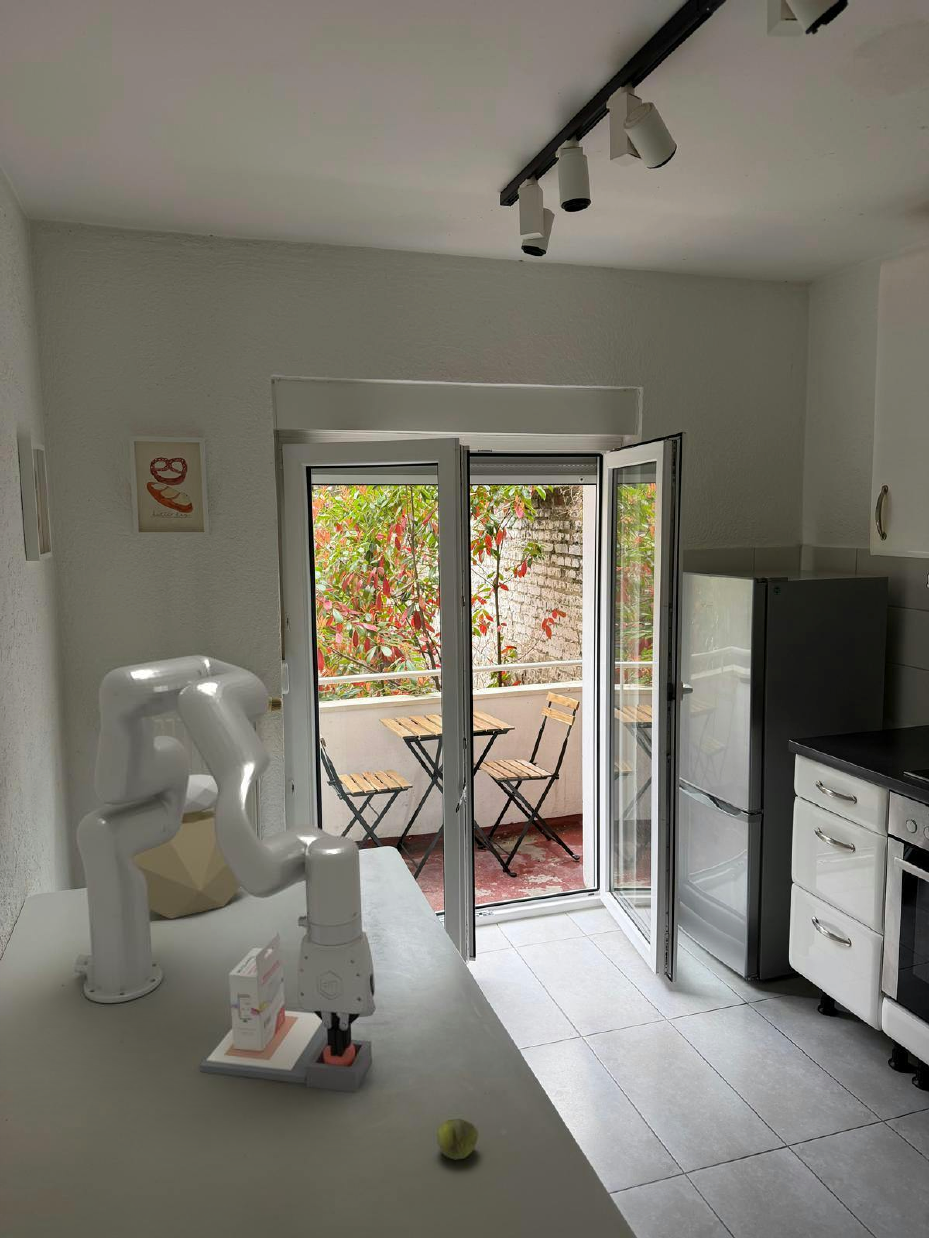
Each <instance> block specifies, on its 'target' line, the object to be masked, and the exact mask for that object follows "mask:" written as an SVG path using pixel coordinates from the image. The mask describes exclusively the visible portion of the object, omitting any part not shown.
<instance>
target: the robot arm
mask: <svg viewBox="0 0 929 1238" xmlns="http://www.w3.org/2000/svg"><path fill="white" fill-rule="evenodd" d="M98 705H99V712H100V730H99V737H98V743H97V744H98V745H97V751H96V753H97V754H96V758H95V768H94V776H93V779H94V780H93V785H94V791H95V794H96V796H97V798H98V799H99V800H100V801H101V802H103V803H104V804H107V805H103V806H102V807H98V808H96V809H95V810H93V811H90V812H89V813H87V814H86V815H85V816H84V817H83V818H82V819H81V820H80V822H79V823H78V826H77V829H76V836H75V837H76V842H77V846H78V850H79V854H80V857H81V860H82V865H83V869H84V875H85V876H84V877H85V884H86V894H87V906H88V908H87V909H88V920H89V935H90V950H91V955H89V954H88V955H87V954H79V955H78V956H77V958H76V961H75V963H76V964H75V965H74V968H73V971H74V973H76V974H85V975H86V976H87V979H86V980H85V982H84V984H83V993H84V995H85V997H86V998H87V999H89V1000H91V1001H93V1002H97V1003H100V1004H117V1003H122V1002H127V1001H131V1000H134V999H137V998H140V997H143V996H145V995H147V994H148V993H150V992H152V991H153V990H154V989H156V988H157V987H158V986H159V985H160V983H161V982H162V980H163V978H164V977H163V975H164V973H163V968H162V967H161V965H160V964H158V963H156V962H154V961H153V951H152V935H151V920H150V919H151V918H150V909H149V900H148V885H147V880H146V877H145V875H144V873H143V872H142V870H141V869H140V868H139V867H138V866H137V865H136V864H135V863H134V860H133V858H134V857H135V856H136V855H138V854H141V853H142V852H145V851H147V850H150V849H152V848H155V847H158V846H160V845H163V844H165V843H167V842H169V841H171V840H172V839H173V838H174V837H175V836H176V835H177V833H178V832H179V830H180V827H181V824H182V819H183V813H184V807H185V801H186V795H187V789H188V783H189V775H191V774H190V773H191V765H190V759H189V756H188V751H187V750H186V748H185V746H184V745H183V743H181V741H180V740H178V739H177V738H175V737H172V736H170V735H157V736H156V734H157V724H156V721H155V717H158V716H163V715H166V714H167V715H168V714H170V713H171V714H172V713H175V712H176V713H177V714H178V718H179V719H180V720H181V723H182V724H183V726H184V729H185V730H186V732H187V734H188V735H189V737H190V739H191V741H192V743H193V744H194V747H195V748H196V750H197V752H198V753H199V755H200V757H201V758H202V760H203V763H204V764H205V766H206V767H207V769H208V771H209V773H210V776H212V777H213V778H214V780H215V782H216V784H217V788H218V793H217V798H216V802H215V807H214V809H213V810H214V825H215V835H216V841H217V844H218V847H219V850H220V852H221V854H222V856H223V858H224V860H225V861H226V863H227V865H228V867H229V869H230V870H231V872H232V874H233V876H234V877H235V879H236V880H237V882H238V883H239V885H240V886H241V887H240V888H242V890H243V891H244V892H246V893H247V894H248V895H250V896H252V897H255V898H259V899H265V898H269V897H273V896H274V895H276V894H278V893H281V892H283V891H284V890H287V889H288V888H290V887H292V886H294V885H296V884H299V883H301V882H305V897H306V898H305V899H306V900H305V901H306V904H305V905H306V915H304V916H303V915H302V916H299V918H298V919H297V925H298V926H299V927H303V928H305V929H306V931H305V932H306V933H305V935H303V936H302V938H301V939H302V940H301V943H300V950H299V951H300V952H299V960H298V971H297V974H298V975H297V1000H298V1004H299V1006H300V1008H301V1010H306V1011H309V1012H312V1013H313V1012H314V1013H315V1014H316V1015H317V1016H318V1017H319V1018H320V1019H321V1020H322V1021H323V1025H324V1027H325V1028H327V1039H328V1046H330V1049H331V1056H335V1055H338V1056H339V1057H342V1056H343V1054H344V1052H345V1050H346V1049H347V1048H349V1047H350V1045H351V1039H352V1026H351V1025H352V1023H354V1022H355V1021H357V1019H358V1018H365V1017H371V1016H373V1015H374V1013H375V1011H376V1009H377V1008H376V1004H375V1000H374V996H375V991H376V987H375V984H376V983H375V972H374V964H373V957H372V952H371V946H370V943H369V939H368V935H367V932H366V931H363V923H362V922H363V921H362V919H363V918H362V894H361V893H362V892H361V867H360V866H361V865H360V864H361V863H360V849H359V846H358V844H357V843H356V841H354V839H352V838H350V837H347V836H344V835H343V836H342V835H332V834H330V833H328V832H326V831H325V830H323V829H322V828H319V827H317V826H315V825H312V824H309V823H308V824H307V823H306V824H305V823H303V824H298V825H294V826H292V827H290V828H287V829H286V830H283V831H280V832H278V833H275V834H273V835H271V836H269V837H266V838H264V839H262V840H260V838H259V836H258V835H257V834H256V831H255V830H254V828H253V826H252V823H251V821H250V818H249V814H248V808H247V807H248V806H247V802H248V801H247V800H248V797H249V793H250V790H251V788H252V787H253V785H254V783H255V782H256V781H257V780H259V779H260V777H262V776H263V774H264V773H266V770H268V768H269V766H270V763H271V757H270V754H269V752H268V750H267V749H266V748H265V746H264V744H263V743H262V740H261V739H260V737H259V735H258V734H257V732H256V730H255V729H254V727H253V725H252V723H255V722H257V721H259V720H261V719H262V718H264V716H265V715H266V713H267V712H268V710H269V707H270V697H269V692H268V690H267V687H266V686H265V684H264V683H263V681H262V680H261V679H260V678H259V676H257V675H256V674H254V673H253V672H251V671H249V670H248V669H245V668H242V667H240V666H237V665H234V664H231V663H228V662H225V661H222V660H219V659H216V658H213V657H210V656H206V655H198V654H197V655H187V656H181V657H176V658H170V659H169V658H168V659H163V660H161V659H160V660H154V661H151V662H150V661H149V662H144V663H138V664H133V665H132V664H131V665H126V666H122V667H117V668H114V669H113V670H111V671H109V672H108V673H107V674H106V675H105V676H104V678H102V681H101V683H100V686H99V691H98ZM338 1013H339V1014H341V1016H340V1017H338Z"/></svg>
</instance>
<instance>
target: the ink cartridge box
mask: <svg viewBox="0 0 929 1238" xmlns="http://www.w3.org/2000/svg"><path fill="white" fill-rule="evenodd" d="M228 982H229V983H228V984H229V997H230V998H229V999H230V1011H231V1026H232V1030H233V1045H234V1049H240V1050H251V1051H264V1049H265V1048H266V1046H267V1045H268V1044H269V1042H270V1041H271V1039H272V1038H273V1036H274V1035H275V1034H276V1032H277V1031H278V1029H279V1028H280V1026H281V1025H282V1024H283V1022H284V1020H285V1008H286V1006H285V991H284V988H285V987H284V972H283V950H282V945H281V939H280V933H279V932H276V933H275V934H274V936H272V937H271V939H270V940H268V942H267V943H266V944H265V945H264V946H263V947H253V948H252V949H251V950H250V951H248V953H246V955H245V956H244V957H243V959H241V960H240V962H239V963H238V964H236V966H235V967H234V968H233V969H232V970H231V971H230V972H229V973H228Z"/></svg>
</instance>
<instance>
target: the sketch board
mask: <svg viewBox="0 0 929 1238" xmlns="http://www.w3.org/2000/svg"><path fill="white" fill-rule="evenodd" d="M340 1016H341V1013H338V1017H340ZM324 1037H327V1028H325V1027H324V1025H323V1021H322V1020H321V1019H320V1018H319V1017H318V1016H317V1015H316V1014H315V1013H314V1012H313V1013H312V1012H309V1011H306V1010H304V1009H296V1008H287V1007H285V1020H284V1022H283V1024H282V1025H281V1026H280V1028H279V1029H278V1031H277V1032H276V1034H275V1035H274V1036H273V1038H272V1039H271V1041H270V1042H269V1044H268V1045H267V1046H266V1048H265V1049H264V1051H251V1050H240V1049H234V1045H233V1030H232V1025H231V1026H230V1028H229V1029H228V1030H227V1032H226V1033H225V1034H224V1035H223V1036H222V1038H221V1039H220V1040H219V1041H218V1042H217V1043H216V1045H215V1046H214V1047H213V1049H212V1050H210V1052H209V1054H208V1055H207V1056H206V1057H204V1058H205V1059H203V1061H202V1062H201V1063H200V1064H199V1065H200V1068H199V1069H200V1072H201V1073H210V1074H218V1075H227V1076H234V1077H235V1076H237V1077H244V1078H253V1079H262V1080H271V1081H280V1082H286V1083H287V1082H288V1083H295V1084H296V1083H297V1084H306V1085H307V1083H306V1065H307V1064H308V1062H309V1061H310V1059H311V1057H312V1056H313V1054H314V1052H315V1051H316V1049H317V1048H318V1046H319V1044H320V1043H321V1041H322V1039H323V1038H324Z"/></svg>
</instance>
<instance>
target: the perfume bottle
mask: <svg viewBox="0 0 929 1238" xmlns="http://www.w3.org/2000/svg"><path fill="white" fill-rule="evenodd" d="M217 793H218V788H217V784H216V782H215V780H214V778H213V777H212V775H208V774H201V773H200V774H190V775H189V783H188V789H187V795H186V801H185V807H184V813H183V819H182V824H181V827H180V830H179V832H178V833H177V835H176V836H175V837H174V838H173V839H172V840H171V841H169V842H167V843H165V844H163V845H160V846H158V847H155V848H152V849H150V850H147V851H145V852H142V853H141V854H138V855H136V856H135V857H134V858H133V860H134V863H135V864H136V865H137V866H138V867H139V868H140V869H141V870H142V872H143V873H144V875H145V877H146V880H147V885H148V900H149V910H150V911H153V912H155V913H157V914H159V915H160V916H163V917H165V918H167V919H169V920H172V919H176V918H177V919H178V918H181V916H182V917H185V915H186V916H191V915H194V914H198V913H202V912H207V911H210V910H214V909H218V908H223V907H225V906H226V905H227V904H228V902H229V901H230V900H232V898H233V897H234V896H235V894H236V893H237V892H238V890H240V889H241V888H242V887H241V886H240V885H239V883H238V882H237V880H236V879H235V877H234V876H233V874H232V872H231V870H230V869H229V867H228V865H227V863H226V861H225V860H224V858H223V856H222V854H221V852H220V850H219V847H218V844H217V841H216V835H215V825H214V809H212V808H215V802H216V798H217ZM210 809H211V810H210Z"/></svg>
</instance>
